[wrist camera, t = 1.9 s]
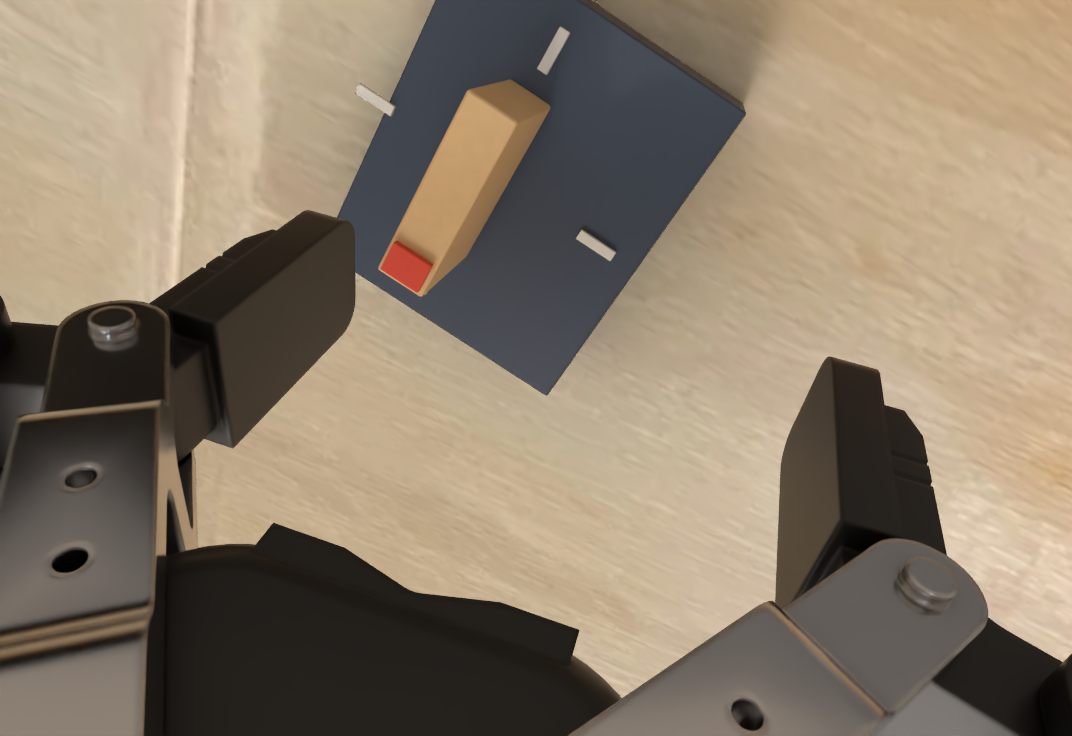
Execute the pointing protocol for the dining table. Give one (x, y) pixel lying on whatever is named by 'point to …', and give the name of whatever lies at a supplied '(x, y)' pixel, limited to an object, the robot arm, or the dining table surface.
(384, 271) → the tan rectangular block
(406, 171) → the console
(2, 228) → the dining table surface
